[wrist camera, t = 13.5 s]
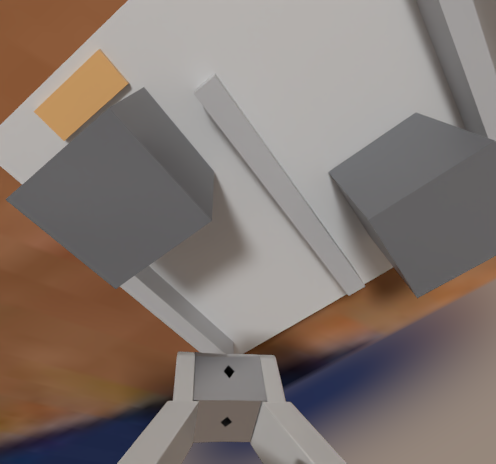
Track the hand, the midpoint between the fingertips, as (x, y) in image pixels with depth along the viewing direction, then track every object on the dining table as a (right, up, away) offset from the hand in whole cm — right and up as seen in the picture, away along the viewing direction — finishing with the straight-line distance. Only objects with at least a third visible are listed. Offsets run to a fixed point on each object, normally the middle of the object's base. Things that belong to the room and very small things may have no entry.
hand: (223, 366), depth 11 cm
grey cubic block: (+6, +6, +3) cm, 9 cm away
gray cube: (-3, +7, +2) cm, 7 cm away
